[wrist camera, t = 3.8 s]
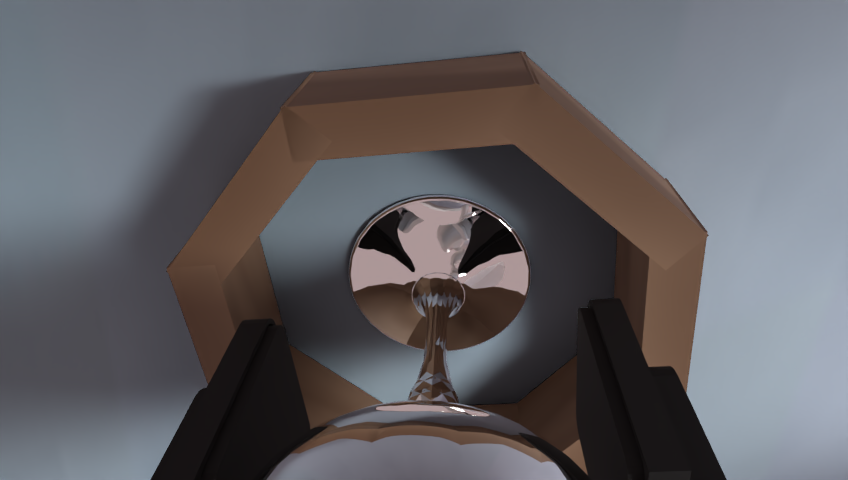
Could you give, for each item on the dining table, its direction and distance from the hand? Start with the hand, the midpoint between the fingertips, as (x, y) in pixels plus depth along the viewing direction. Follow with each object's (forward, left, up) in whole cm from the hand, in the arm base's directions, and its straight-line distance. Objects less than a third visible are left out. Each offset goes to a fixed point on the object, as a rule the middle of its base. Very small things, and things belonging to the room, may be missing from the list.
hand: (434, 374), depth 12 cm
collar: (0, 0, -3) cm, 3 cm away
